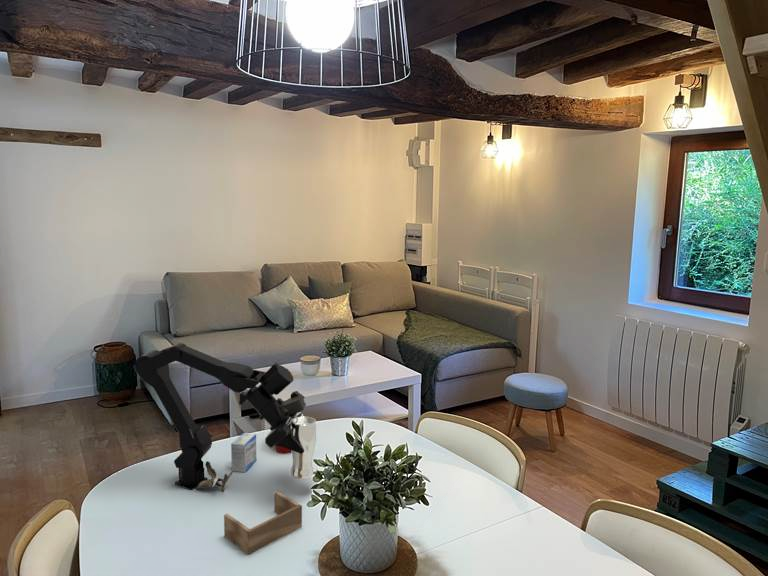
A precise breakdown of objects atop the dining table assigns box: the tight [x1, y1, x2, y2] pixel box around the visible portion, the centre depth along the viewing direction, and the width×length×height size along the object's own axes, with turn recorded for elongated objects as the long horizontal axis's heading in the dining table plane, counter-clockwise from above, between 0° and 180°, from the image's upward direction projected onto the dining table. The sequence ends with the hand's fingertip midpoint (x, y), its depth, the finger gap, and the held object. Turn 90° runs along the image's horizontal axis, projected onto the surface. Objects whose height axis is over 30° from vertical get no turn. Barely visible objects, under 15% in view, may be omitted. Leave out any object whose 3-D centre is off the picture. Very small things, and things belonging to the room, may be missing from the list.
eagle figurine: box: [194, 461, 234, 492], centre depth 158 cm, size 8×7×9 cm
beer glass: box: [290, 415, 317, 480], centre depth 156 cm, size 7×7×15 cm
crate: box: [223, 490, 303, 555], centre depth 139 cm, size 10×15×6 cm, turn 138°
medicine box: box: [230, 432, 257, 473], centre depth 171 cm, size 8×4×9 cm, turn 168°
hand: (306, 446), depth 156 cm, fingers closed on beer glass, 7 cm apart
